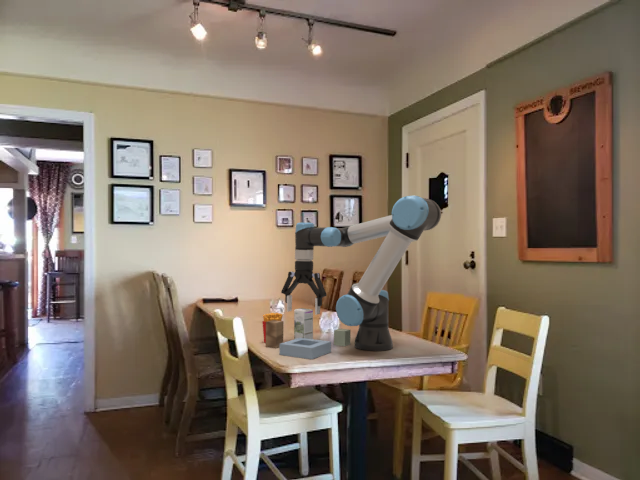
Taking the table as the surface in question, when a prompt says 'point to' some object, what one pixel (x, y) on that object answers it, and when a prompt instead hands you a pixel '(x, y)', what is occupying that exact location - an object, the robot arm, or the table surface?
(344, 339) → the greygreen peg
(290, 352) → the hole block
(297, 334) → the syrup box
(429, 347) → the table surface
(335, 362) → the table surface
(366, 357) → the table surface
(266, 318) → the french fries
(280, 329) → the walnut peg
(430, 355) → the table surface
